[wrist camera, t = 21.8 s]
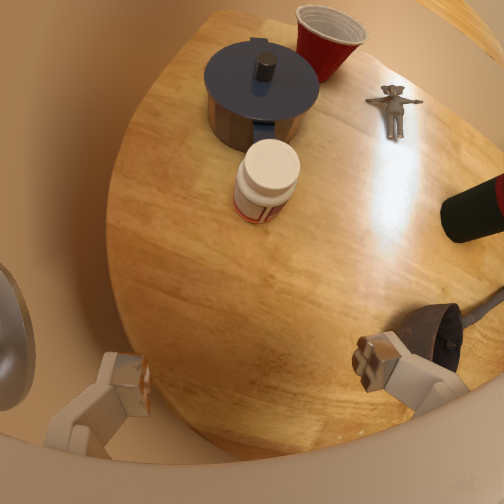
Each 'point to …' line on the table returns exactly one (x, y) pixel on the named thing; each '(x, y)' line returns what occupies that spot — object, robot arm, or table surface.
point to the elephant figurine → (394, 108)
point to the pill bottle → (265, 180)
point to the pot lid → (261, 81)
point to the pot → (248, 126)
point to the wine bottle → (475, 212)
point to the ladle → (441, 330)
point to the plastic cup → (327, 38)
